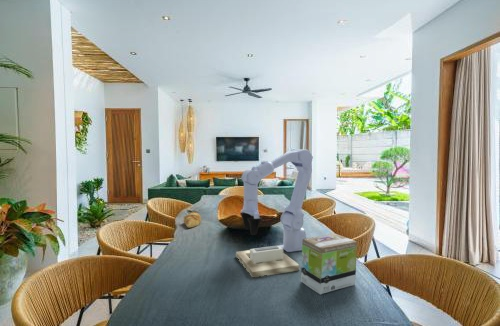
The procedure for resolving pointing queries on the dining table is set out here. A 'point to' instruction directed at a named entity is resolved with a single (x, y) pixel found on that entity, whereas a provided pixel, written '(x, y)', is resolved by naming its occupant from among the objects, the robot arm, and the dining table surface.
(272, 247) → the white and grey block
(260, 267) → the keyhole board
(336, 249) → the tea box
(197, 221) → the croissant
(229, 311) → the dining table surface
